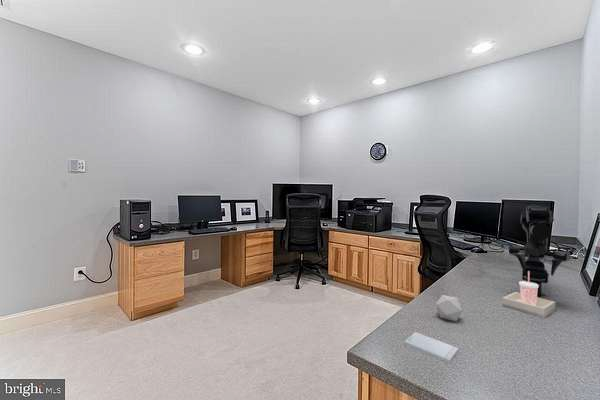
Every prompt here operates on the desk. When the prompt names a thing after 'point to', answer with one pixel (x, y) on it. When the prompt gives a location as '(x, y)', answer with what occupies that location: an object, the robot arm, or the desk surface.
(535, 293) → the beverage cup
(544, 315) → the tray
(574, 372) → the desk surface
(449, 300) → the die
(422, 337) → the hard drive
